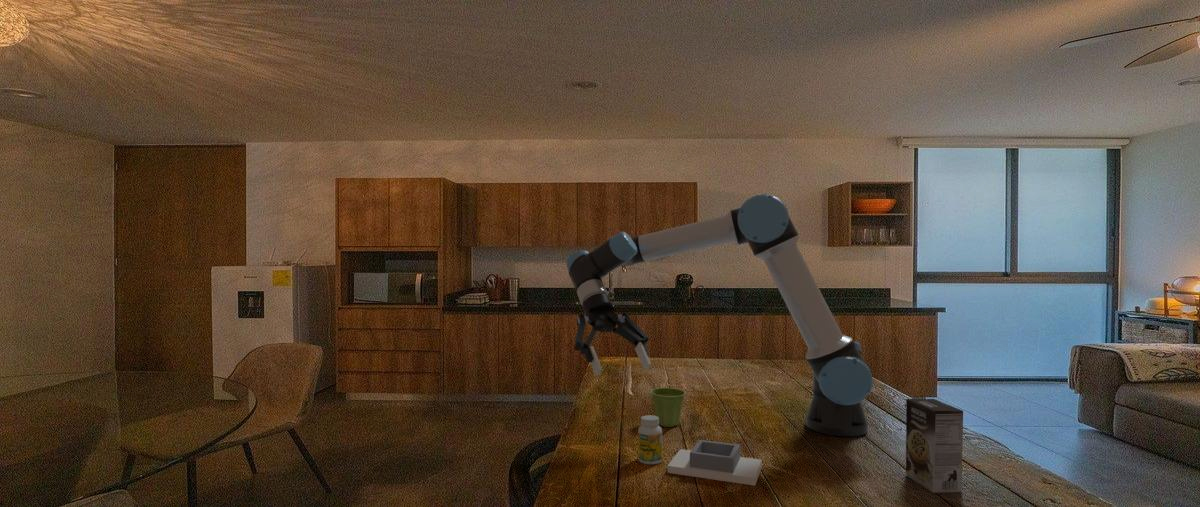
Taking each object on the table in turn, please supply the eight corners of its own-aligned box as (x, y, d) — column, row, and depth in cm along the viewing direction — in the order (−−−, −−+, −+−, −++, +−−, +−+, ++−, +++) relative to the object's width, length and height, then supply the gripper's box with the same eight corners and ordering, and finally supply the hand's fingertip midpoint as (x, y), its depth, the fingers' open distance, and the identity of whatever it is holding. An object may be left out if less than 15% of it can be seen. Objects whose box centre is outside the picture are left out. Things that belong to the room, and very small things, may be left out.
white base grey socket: (761, 466, 128) (761, 445, 128) (755, 485, 118) (755, 463, 118) (680, 455, 135) (680, 435, 135) (667, 472, 124) (667, 451, 124)
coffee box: (904, 475, 123) (904, 398, 123) (933, 474, 124) (934, 397, 124) (932, 493, 114) (932, 410, 114) (963, 492, 115) (964, 409, 115)
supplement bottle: (664, 457, 133) (664, 415, 133) (659, 466, 128) (659, 422, 128) (641, 455, 135) (641, 413, 135) (635, 463, 130) (635, 419, 130)
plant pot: (684, 419, 163) (684, 388, 163) (686, 429, 154) (686, 396, 154) (650, 418, 164) (650, 387, 164) (650, 428, 155) (650, 395, 155)
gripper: (631, 308, 162) (660, 374, 149) (547, 312, 150) (571, 383, 137) (641, 290, 157) (673, 356, 144) (555, 293, 146) (582, 365, 133)
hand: (623, 370), depth 141 cm, fingers open, 13 cm apart
